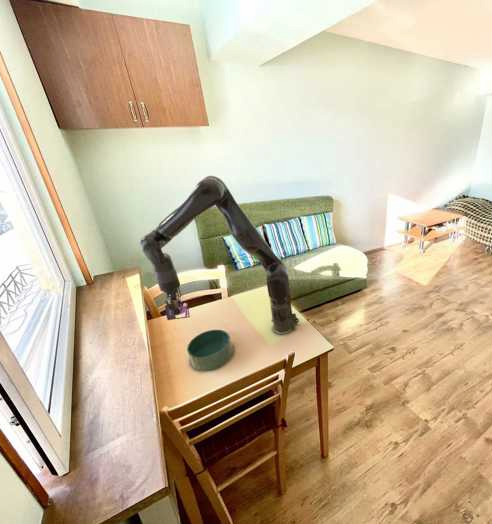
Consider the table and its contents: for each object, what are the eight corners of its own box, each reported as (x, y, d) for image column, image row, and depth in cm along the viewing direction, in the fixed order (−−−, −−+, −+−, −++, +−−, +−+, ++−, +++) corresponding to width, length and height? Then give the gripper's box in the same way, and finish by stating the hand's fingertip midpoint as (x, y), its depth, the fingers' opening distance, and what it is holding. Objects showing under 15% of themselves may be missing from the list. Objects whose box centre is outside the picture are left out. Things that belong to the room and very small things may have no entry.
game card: (164, 305, 119) (186, 303, 120) (168, 302, 124) (190, 299, 125) (166, 320, 120) (189, 317, 121) (171, 317, 125) (192, 314, 126)
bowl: (233, 338, 126) (230, 326, 123) (232, 365, 112) (228, 352, 109) (194, 346, 122) (190, 333, 119) (188, 374, 108) (183, 362, 105)
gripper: (173, 285, 109) (185, 319, 117) (180, 268, 121) (190, 300, 129) (152, 288, 107) (165, 323, 115) (161, 271, 119) (172, 303, 127)
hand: (178, 311), depth 122 cm, fingers closed on game card, 4 cm apart
